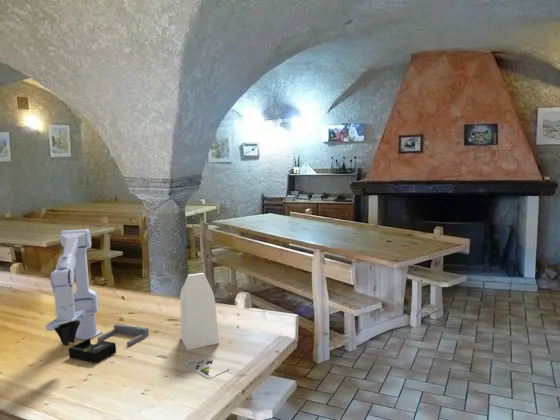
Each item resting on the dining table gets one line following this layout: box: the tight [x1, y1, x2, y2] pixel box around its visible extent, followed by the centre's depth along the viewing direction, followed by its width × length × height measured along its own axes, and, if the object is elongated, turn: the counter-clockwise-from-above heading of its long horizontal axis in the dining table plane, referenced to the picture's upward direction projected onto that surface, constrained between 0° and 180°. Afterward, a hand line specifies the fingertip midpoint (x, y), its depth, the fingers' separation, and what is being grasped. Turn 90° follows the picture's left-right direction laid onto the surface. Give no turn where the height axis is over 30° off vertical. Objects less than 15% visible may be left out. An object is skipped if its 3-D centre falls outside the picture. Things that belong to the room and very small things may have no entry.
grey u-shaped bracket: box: [97, 323, 150, 347], centre depth 182 cm, size 15×11×3 cm
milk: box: [179, 272, 220, 351], centre depth 176 cm, size 12×12×26 cm
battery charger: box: [68, 338, 117, 364], centre depth 167 cm, size 13×10×4 cm
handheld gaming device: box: [184, 355, 214, 379], centre depth 155 cm, size 9×1×15 cm
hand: (68, 343), depth 157 cm, fingers closed
